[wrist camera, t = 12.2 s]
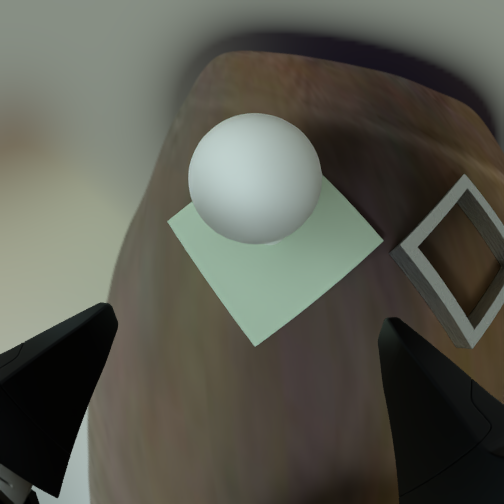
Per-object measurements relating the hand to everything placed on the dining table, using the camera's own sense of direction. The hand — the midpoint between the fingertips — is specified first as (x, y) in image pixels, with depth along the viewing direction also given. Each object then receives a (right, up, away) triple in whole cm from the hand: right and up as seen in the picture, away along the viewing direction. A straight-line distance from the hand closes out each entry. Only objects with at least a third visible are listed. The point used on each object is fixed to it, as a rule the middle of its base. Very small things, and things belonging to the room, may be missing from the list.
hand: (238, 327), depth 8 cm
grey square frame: (+18, +1, +10) cm, 20 cm away
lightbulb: (+2, +4, +12) cm, 13 cm away
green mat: (+2, +4, +13) cm, 13 cm away
